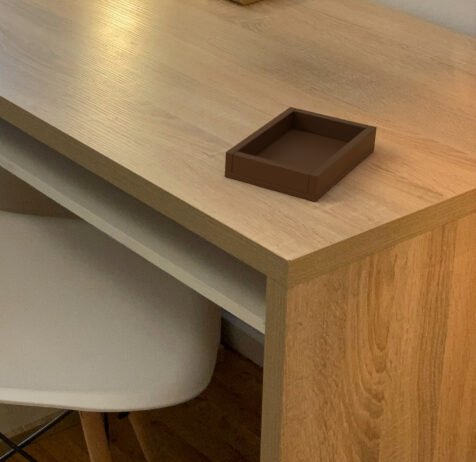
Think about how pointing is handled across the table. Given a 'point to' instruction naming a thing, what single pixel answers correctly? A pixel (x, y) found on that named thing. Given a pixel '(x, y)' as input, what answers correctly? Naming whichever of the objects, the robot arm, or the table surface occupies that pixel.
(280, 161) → the tray
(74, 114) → the table surface
